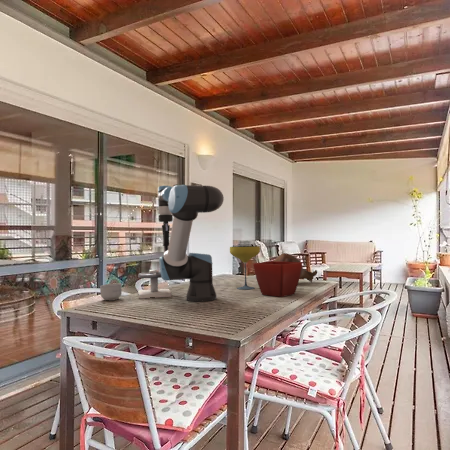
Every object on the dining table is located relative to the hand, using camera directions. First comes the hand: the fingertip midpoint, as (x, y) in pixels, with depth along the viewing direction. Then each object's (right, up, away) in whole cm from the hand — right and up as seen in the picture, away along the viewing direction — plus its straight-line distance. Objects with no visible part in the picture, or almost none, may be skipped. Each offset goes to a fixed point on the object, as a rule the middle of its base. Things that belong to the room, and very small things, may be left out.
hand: (166, 257), depth 207 cm
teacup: (-27, -21, -7) cm, 35 cm away
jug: (+76, -20, +38) cm, 87 cm away
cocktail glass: (+44, -20, +21) cm, 53 cm away
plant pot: (+60, -19, -6) cm, 63 cm away
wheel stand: (-7, -21, +3) cm, 22 cm away
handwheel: (-7, -11, +4) cm, 13 cm away
